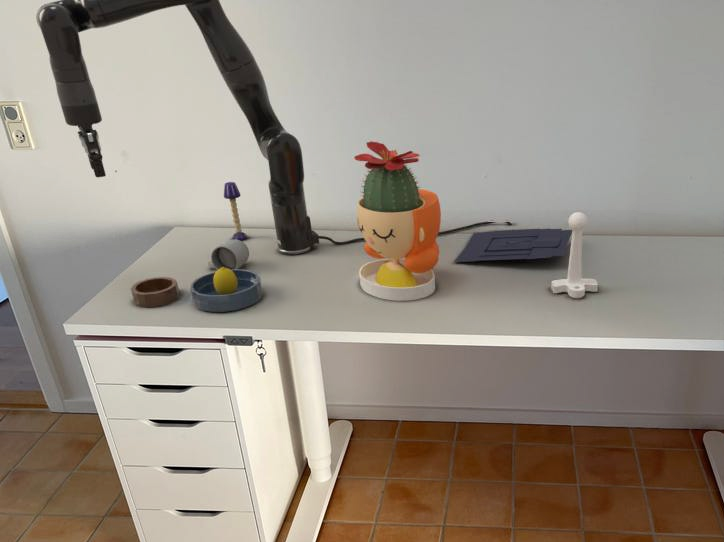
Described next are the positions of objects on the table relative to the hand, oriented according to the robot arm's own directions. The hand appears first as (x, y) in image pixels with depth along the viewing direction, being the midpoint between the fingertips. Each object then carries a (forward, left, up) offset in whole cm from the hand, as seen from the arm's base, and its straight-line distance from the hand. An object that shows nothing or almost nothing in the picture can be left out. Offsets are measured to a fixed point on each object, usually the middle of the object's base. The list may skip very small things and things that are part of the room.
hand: (98, 172), depth 170 cm
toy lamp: (-33, -19, -29) cm, 48 cm away
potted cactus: (-60, +37, -29) cm, 77 cm away
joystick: (-93, +66, -29) cm, 118 cm away
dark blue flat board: (-96, +35, -29) cm, 107 cm away
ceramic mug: (-24, +3, -29) cm, 38 cm away
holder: (-4, +13, -29) cm, 32 cm away
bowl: (-19, +23, -29) cm, 42 cm away
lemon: (-19, +23, -29) cm, 42 cm away
